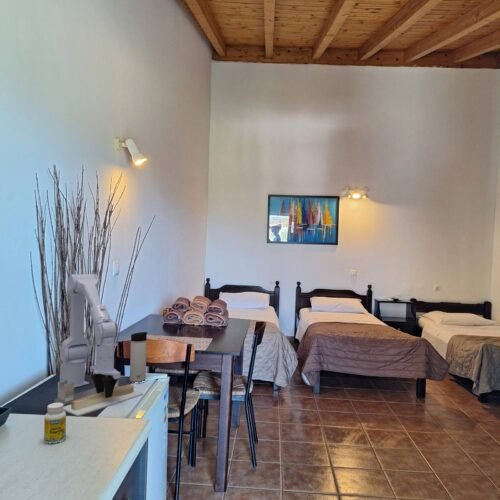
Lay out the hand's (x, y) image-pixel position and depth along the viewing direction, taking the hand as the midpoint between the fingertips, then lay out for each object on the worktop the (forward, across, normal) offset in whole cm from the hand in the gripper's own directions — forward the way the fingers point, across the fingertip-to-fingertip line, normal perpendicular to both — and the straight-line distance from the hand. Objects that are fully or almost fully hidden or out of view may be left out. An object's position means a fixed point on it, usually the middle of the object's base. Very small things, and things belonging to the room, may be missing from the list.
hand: (104, 395), depth 141 cm
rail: (+2, 0, 0) cm, 2 cm away
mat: (+2, 0, 0) cm, 2 cm away
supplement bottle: (+2, +15, -26) cm, 30 cm away
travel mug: (+2, -9, +22) cm, 24 cm away
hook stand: (+2, -9, 0) cm, 9 cm away
